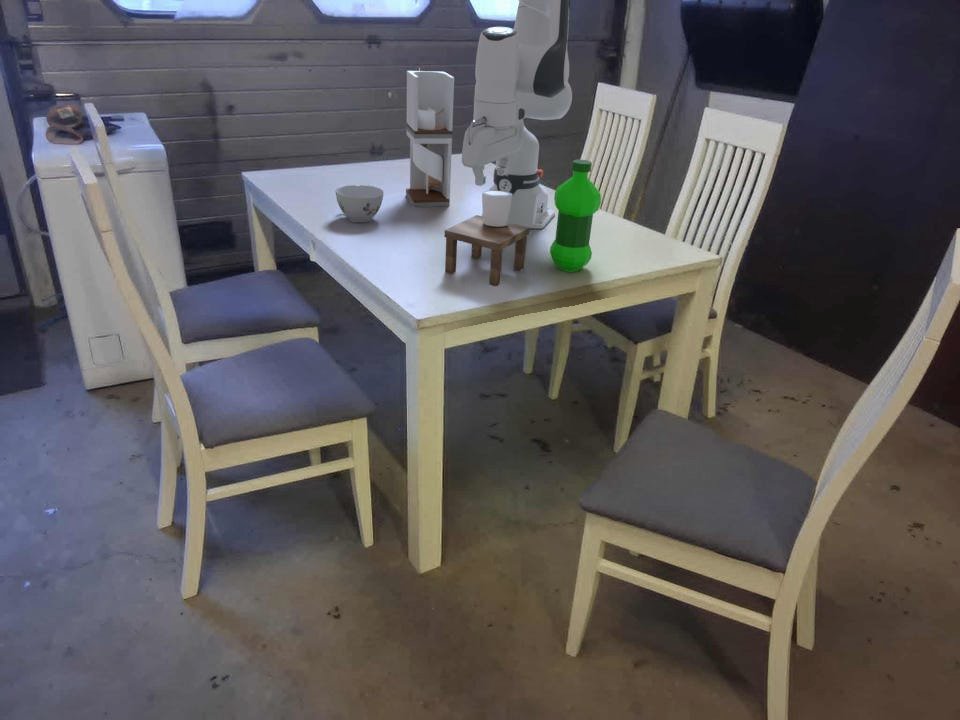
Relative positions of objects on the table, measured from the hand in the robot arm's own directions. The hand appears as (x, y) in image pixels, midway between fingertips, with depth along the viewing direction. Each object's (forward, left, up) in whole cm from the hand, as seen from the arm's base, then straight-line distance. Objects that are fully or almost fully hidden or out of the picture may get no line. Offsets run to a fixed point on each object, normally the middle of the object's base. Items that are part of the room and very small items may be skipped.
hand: (491, 179), depth 154 cm
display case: (-37, -41, -21) cm, 59 cm away
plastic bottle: (-14, +15, -21) cm, 29 cm away
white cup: (-3, 0, -11) cm, 11 cm away
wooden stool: (0, 0, -21) cm, 21 cm away
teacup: (-11, -46, -21) cm, 52 cm away
